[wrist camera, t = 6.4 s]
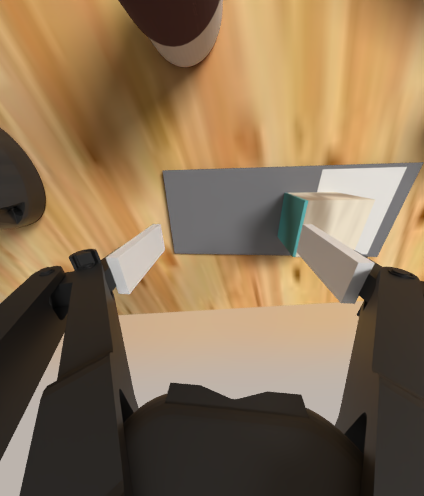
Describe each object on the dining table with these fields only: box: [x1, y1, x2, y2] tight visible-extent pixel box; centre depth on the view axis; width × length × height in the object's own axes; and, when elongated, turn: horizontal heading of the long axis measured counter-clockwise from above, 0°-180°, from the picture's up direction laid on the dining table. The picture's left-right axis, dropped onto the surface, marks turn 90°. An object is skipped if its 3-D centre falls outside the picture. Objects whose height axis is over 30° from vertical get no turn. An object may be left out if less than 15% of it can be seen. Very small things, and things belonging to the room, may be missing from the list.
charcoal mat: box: [163, 162, 424, 257], centre depth 22 cm, size 30×12×1 cm, turn 91°
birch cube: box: [277, 192, 375, 257], centre depth 18 cm, size 6×6×6 cm
